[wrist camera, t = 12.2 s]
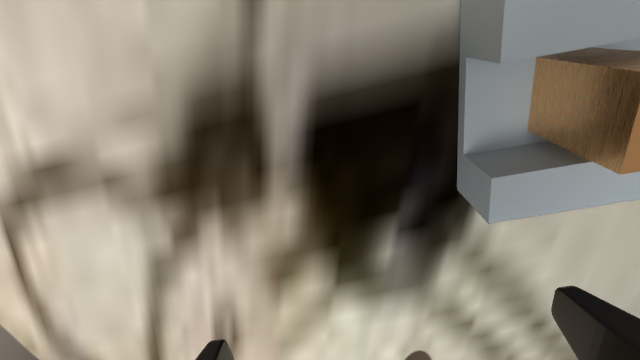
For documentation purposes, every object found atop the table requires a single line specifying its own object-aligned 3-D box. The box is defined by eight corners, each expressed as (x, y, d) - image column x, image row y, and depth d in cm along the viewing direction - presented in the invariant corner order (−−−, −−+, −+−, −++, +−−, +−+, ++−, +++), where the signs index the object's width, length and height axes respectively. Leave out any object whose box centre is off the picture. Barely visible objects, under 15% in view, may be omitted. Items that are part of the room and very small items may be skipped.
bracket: (614, 162, 20) (680, 192, 17) (456, 189, 21) (488, 223, 17) (667, -43, 15) (776, -64, 12) (460, -3, 16) (505, -11, 12)
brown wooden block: (577, 121, 18) (691, 163, 13) (527, 130, 18) (620, 174, 13) (591, 47, 16) (731, 57, 11) (536, 57, 16) (647, 72, 11)
